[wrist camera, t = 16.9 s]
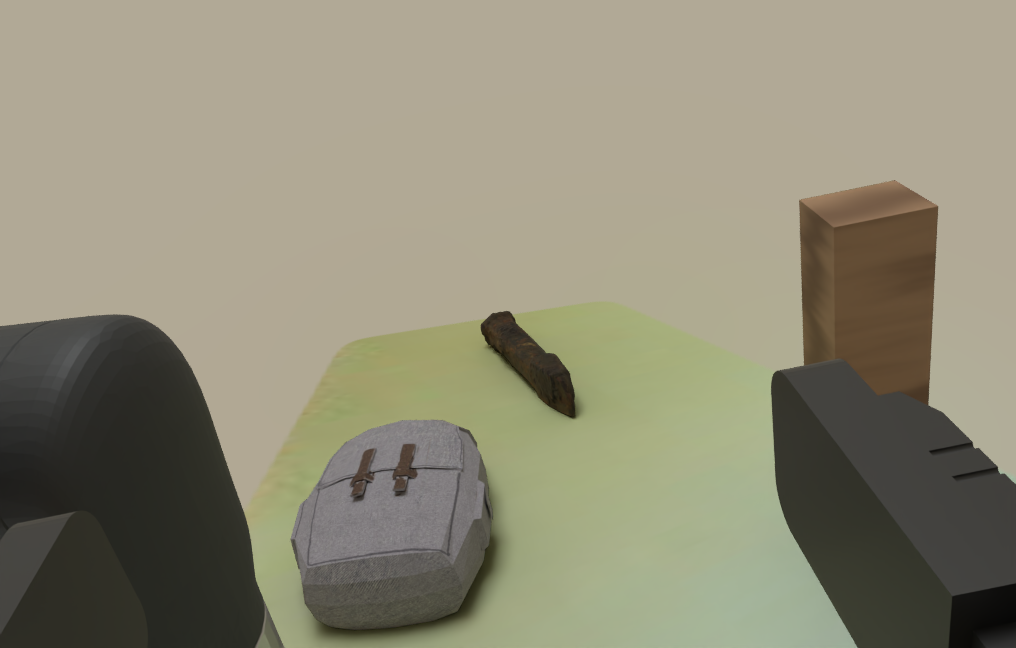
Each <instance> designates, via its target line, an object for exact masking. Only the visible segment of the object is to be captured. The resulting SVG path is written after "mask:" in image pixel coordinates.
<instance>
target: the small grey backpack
mask: <svg viewBox="0 0 1016 648" xmlns="http://www.w3.org/2000/svg"><path fill="white" fill-rule="evenodd" d="M491 519H493V512H492V507H491V503H490V500H489V487H488V481H487V475H486V469H485V466H484V463H483V460H482V457H481V454H480V452H479V451H478V449H477V442H476V441H475V439H474V437H473V436H472V434H471V432H470V431H469V430H467V429H464V428H462V427H459V426H456V425H454V424H451V423H448V422H446V421H443V420H402V421H398V422H395V423H391V424H387V425H384V426H380V427H376V428H373V429H369V430H367V431H365V432H363V433H362V434H360V435H358V436H356V437H355V438H353V439H351V440H349V441H347V442H346V443H345V444H344V445H343V446H342V447H341V448H340V449H339V450H338V451H337V452H336V453H335V454H334V455H333V457H332V458H331V459H330V460H329V462H328V464H327V466H326V468H325V470H324V472H323V474H322V476H321V478H320V480H319V482H318V483H317V485H316V486H315V488H314V489H313V491H312V492H311V494H310V495H309V497H308V499H306V500H305V501H304V502H303V503H302V504H301V505H300V507H299V511H298V514H297V518H296V521H295V525H294V529H293V532H292V536H291V543H292V547H293V550H294V554H295V557H296V561H297V565H298V568H299V569H300V573H301V579H302V586H303V593H304V600H305V604H306V606H307V607H308V608H309V610H310V611H311V613H312V614H313V616H314V617H315V618H316V619H317V620H319V621H320V622H322V623H324V624H326V625H328V626H329V627H336V628H343V629H351V630H365V629H379V628H394V627H400V626H406V625H412V624H418V623H424V622H430V621H434V620H437V619H439V618H442V617H444V616H447V615H450V614H452V613H455V612H458V610H459V608H460V606H461V604H462V602H463V600H464V598H465V596H466V594H467V592H468V590H469V588H470V586H471V585H472V583H473V581H474V579H475V577H476V575H477V573H478V571H479V569H480V567H481V565H482V563H483V561H484V555H485V549H486V548H487V547H488V546H489V540H490V530H491Z"/></svg>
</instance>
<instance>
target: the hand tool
mask: <svg viewBox="0 0 1016 648" xmlns="http://www.w3.org/2000/svg"><path fill="white" fill-rule="evenodd" d="M481 332H482V335H484V337H485V341H486V342H487V343H488V345H492V346H493V348H494V349H495V350H499V352H500V353H501V354H502V355H504V356H505V357H506V358H507V359H508V360H509V361H510V363H511V365H512V366H513V367H515V368H516V369H517V370H518V371H519V372H520V373H521V374H522V375H523V376H524V377H525V378H526V379H527V380H528V381H529V383H530V384H531V385H532V386H533V387H534V388H535V390H536V392H537V394H538V396H539V398H540V399H541V400H542V401H543V402H545V403H546V404H547V405H549V406H550V407H552V408H554V409H556V410H558V411H560V412H562V413H564V414H566V415H569V416H571V417H572V416H574V415H575V404H574V397H575V394H574V389H573V385H572V382H571V378H570V373H569V371H568V370H567V369H566V367H565V366H564V365H563V364H562V362H561V361H560V359H559V358H558V357H557V355H555V354H551V353H545V351H544V350H543V349H542V348H541V347H540V346H539V345H538V344H537V343H536V342H535V341H534V340H533V339H532V338H531V337H530V336H529V335H528V334H527V333H526V332H525V331H524V330H523V329H522V328H520V327H519V326H518V325H517V324H516V322H515V318H514V317H513V315H512V314H511V313H510V312H509V311H504V312H498V313H492V314H491V315H490V316H489V317H488V318H487V319H486V320H485V321H484V322H483V323H482V324H481Z"/></svg>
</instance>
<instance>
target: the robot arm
mask: <svg viewBox="0 0 1016 648" xmlns="http://www.w3.org/2000/svg"><path fill="white" fill-rule="evenodd" d="M771 395H772V415H773V435H774V455H775V475H776V485H777V491H778V496H779V500H780V504H781V507H782V511H783V514H784V517H785V519H786V522H787V524H788V527H789V529H790V531H791V533H792V535H793V536H794V538H795V540H796V541H797V543H798V545H799V547H800V548H801V550H802V552H803V554H804V555H805V557H806V559H807V561H808V562H809V564H810V566H811V567H812V569H813V571H814V573H815V574H816V576H817V578H818V580H819V581H820V583H821V585H822V586H823V588H824V590H825V592H826V593H827V595H828V597H829V599H830V600H831V602H832V604H833V606H834V607H835V609H836V611H837V612H838V614H839V616H840V618H841V619H842V621H843V623H844V625H845V626H846V628H847V630H848V631H849V633H850V635H851V637H852V638H853V640H854V642H855V644H856V645H857V647H858V648H1016V484H1015V483H1014V482H1012V481H1011V480H1010V479H1009V478H1008V477H1007V476H1006V475H1005V474H1000V473H999V471H998V467H997V466H996V465H995V464H994V463H993V462H992V461H991V460H990V459H989V458H988V457H987V456H986V455H985V454H984V453H983V452H982V451H981V450H980V449H979V448H976V449H975V448H974V447H973V442H972V441H971V440H970V439H969V438H968V437H967V436H966V435H965V434H964V433H963V432H962V431H961V430H960V429H959V428H958V427H957V426H956V425H955V424H954V423H953V422H952V421H951V420H950V419H949V418H948V417H947V416H946V415H945V414H944V413H942V412H941V411H938V410H936V409H934V408H932V407H930V406H928V405H926V404H924V403H922V402H920V401H918V400H916V399H914V398H912V397H910V396H908V395H906V394H904V393H902V392H900V391H898V392H893V393H888V394H883V395H877V394H876V393H875V392H874V391H873V390H872V389H871V388H870V386H869V385H868V384H867V383H866V382H865V381H864V380H863V379H862V378H861V377H860V376H859V374H858V373H857V372H856V371H855V370H854V369H853V368H852V367H851V366H850V365H849V364H848V363H847V362H846V361H845V360H843V359H834V360H829V361H824V362H819V363H814V364H809V365H804V366H800V367H794V368H790V369H784V370H780V371H776V372H775V373H774V374H773V377H772V383H771ZM0 648H284V646H283V644H282V641H281V639H280V637H279V634H278V632H277V630H276V627H275V625H274V623H273V620H272V618H271V616H270V613H269V611H268V609H267V606H266V604H265V602H264V600H263V597H262V594H261V592H260V590H259V587H258V585H257V582H256V578H255V571H254V563H253V554H252V546H251V539H250V534H249V529H248V525H247V521H246V517H245V514H244V511H243V509H242V506H241V503H240V500H239V498H238V495H237V492H236V489H235V486H234V484H233V481H232V478H231V475H230V472H229V469H228V466H227V463H226V461H225V458H224V454H223V451H222V448H221V445H220V442H219V439H218V436H217V433H216V430H215V427H214V424H213V421H212V418H211V415H210V412H209V409H208V407H207V404H206V401H205V399H204V396H203V393H202V391H201V388H200V386H199V384H198V382H197V380H196V377H195V375H194V373H193V371H192V369H191V367H190V366H189V364H188V362H187V361H186V359H185V358H184V356H183V354H182V353H181V351H180V350H179V349H178V348H177V346H176V345H175V344H174V342H173V341H172V340H171V339H170V338H169V337H168V336H167V335H166V334H165V333H164V332H163V331H161V330H160V329H159V328H158V327H156V326H155V325H153V324H152V323H150V322H148V321H146V320H144V319H140V318H137V317H134V316H129V315H101V316H100V315H99V316H87V317H78V318H69V319H61V320H54V321H44V322H35V323H26V324H17V325H9V326H0Z"/></svg>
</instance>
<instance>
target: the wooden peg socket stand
mask: <svg viewBox="0 0 1016 648" xmlns="http://www.w3.org/2000/svg"><path fill="white" fill-rule="evenodd" d="M799 205H800V241H801V276H802V310H803V345H804V365H809V364H814V363H819V362H824V361H829V360H834V359H843V360H845V361H846V362H847V363H848V364H849V365H850V366H851V367H852V368H853V369H854V370H855V371H856V372H857V373H858V374H859V376H860V377H861V378H862V379H863V380H864V381H865V382H866V383H867V384H868V385H869V386H870V388H871V389H872V390H873V391H874V392H875V393H876V394H877V395H883V394H888V393H893V392H898V391H900V392H902V393H904V394H906V395H908V396H910V397H912V398H914V399H916V400H918V401H920V402H922V403H924V404H926V405H928V399H929V380H930V360H931V339H932V319H933V299H934V278H935V259H936V239H937V237H936V236H937V219H938V206H937V205H935V204H934V203H932V202H930V201H929V200H927V199H925V198H924V197H922V196H920V195H918V194H917V193H915V192H913V191H912V190H910V189H908V188H907V187H905V186H903V185H902V184H900V183H898V182H897V181H895V180H894V181H889V182H884V183H880V184H874V185H870V186H865V187H861V188H855V189H850V190H845V191H840V192H835V193H831V194H826V195H821V196H816V197H811V198H806V199H801V200H800V201H799Z"/></svg>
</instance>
